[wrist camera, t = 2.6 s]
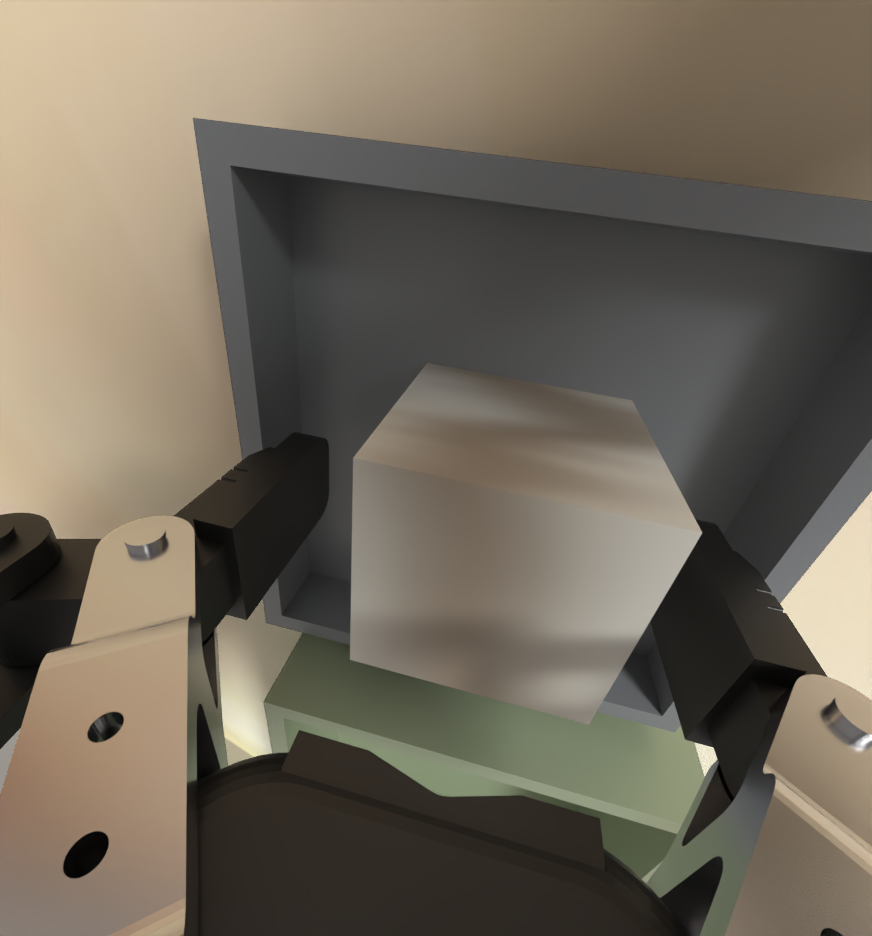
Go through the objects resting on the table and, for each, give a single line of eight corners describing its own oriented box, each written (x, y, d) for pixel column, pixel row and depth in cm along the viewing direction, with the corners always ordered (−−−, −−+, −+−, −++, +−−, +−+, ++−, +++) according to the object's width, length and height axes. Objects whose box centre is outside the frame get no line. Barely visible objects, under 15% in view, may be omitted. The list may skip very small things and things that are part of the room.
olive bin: (675, 679, 15) (722, 835, 11) (569, 825, 22) (576, 952, 18) (326, 591, 16) (263, 701, 13) (331, 754, 23) (291, 857, 20)
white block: (632, 400, 10) (702, 532, 6) (571, 555, 13) (588, 724, 8) (427, 362, 10) (353, 458, 6) (410, 518, 13) (349, 659, 9)
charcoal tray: (936, 225, 8) (1086, 227, 6) (655, 659, 15) (675, 732, 13) (271, 141, 9) (192, 117, 7) (301, 570, 16) (266, 622, 14)
